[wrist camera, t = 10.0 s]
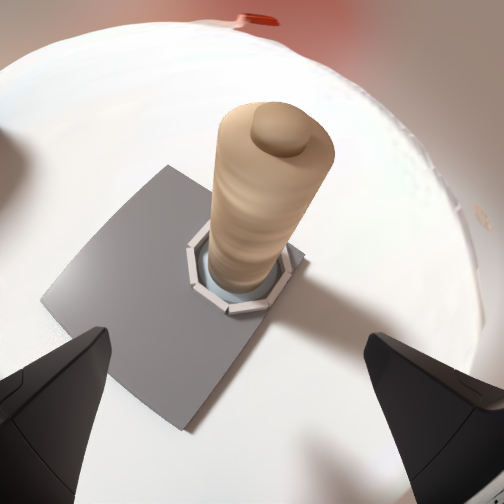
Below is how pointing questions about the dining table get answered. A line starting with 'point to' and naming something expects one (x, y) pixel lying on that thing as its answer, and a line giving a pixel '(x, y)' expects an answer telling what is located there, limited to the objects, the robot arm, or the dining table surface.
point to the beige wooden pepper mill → (262, 188)
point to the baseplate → (163, 297)
